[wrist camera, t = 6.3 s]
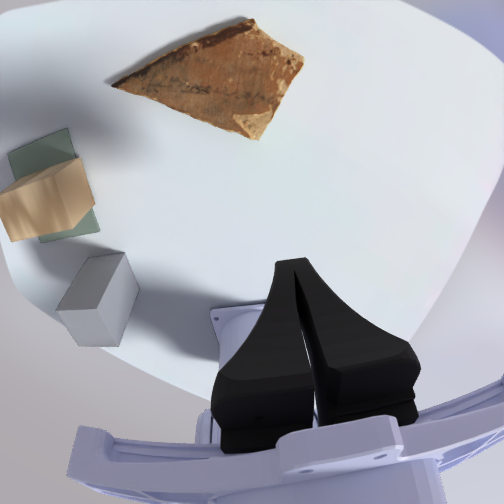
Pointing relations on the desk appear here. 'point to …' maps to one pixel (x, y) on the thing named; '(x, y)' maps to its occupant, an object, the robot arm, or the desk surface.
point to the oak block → (46, 201)
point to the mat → (45, 156)
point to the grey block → (99, 301)
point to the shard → (222, 78)
